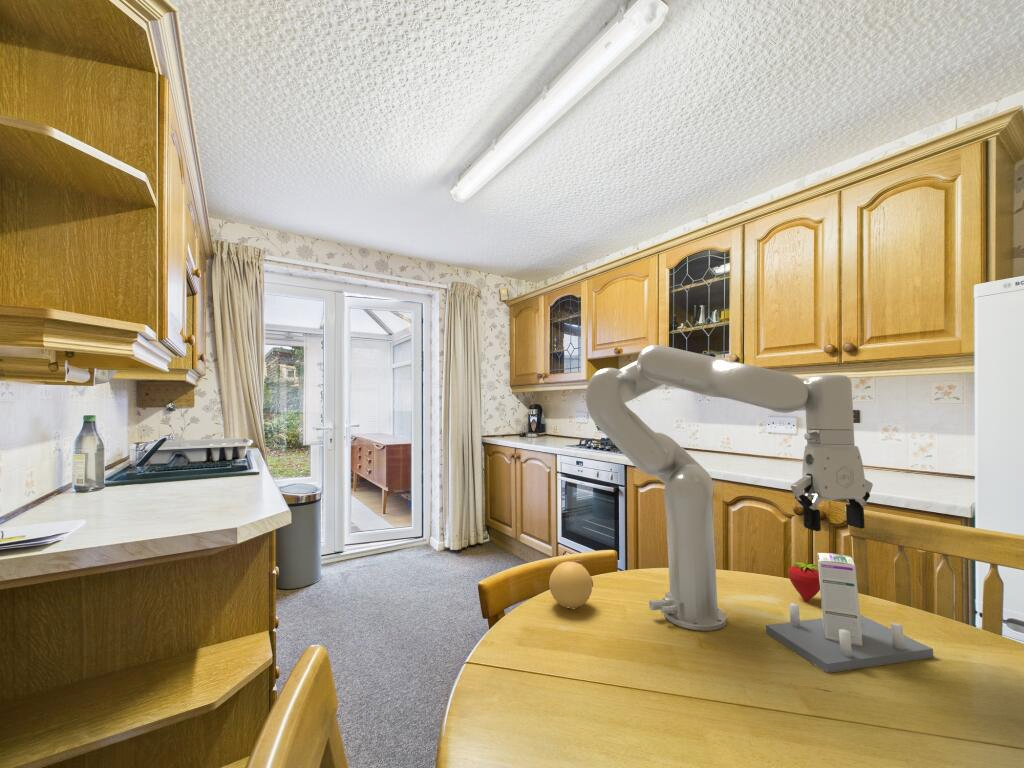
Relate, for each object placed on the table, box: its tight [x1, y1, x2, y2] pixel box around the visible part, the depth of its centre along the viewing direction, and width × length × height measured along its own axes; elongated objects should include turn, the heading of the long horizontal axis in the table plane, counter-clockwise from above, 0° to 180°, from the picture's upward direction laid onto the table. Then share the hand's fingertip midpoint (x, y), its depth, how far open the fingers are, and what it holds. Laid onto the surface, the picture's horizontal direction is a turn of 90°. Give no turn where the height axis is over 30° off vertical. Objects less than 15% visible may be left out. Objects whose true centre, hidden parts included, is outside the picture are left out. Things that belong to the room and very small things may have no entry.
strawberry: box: [787, 556, 820, 602], centre depth 103 cm, size 6×8×10 cm
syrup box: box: [817, 552, 862, 646], centre depth 84 cm, size 6×6×14 cm
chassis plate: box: [765, 602, 934, 674], centre depth 84 cm, size 22×14×6 cm, turn 100°
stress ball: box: [548, 560, 594, 609], centre depth 102 cm, size 10×10×10 cm
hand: (834, 528), depth 85 cm, fingers open, 9 cm apart
